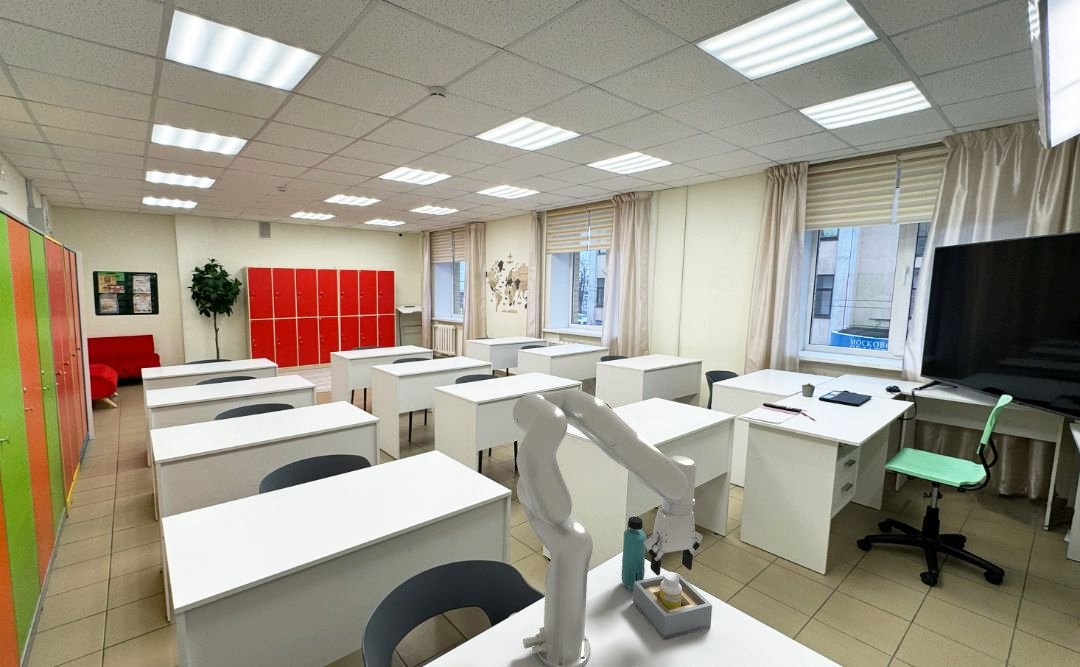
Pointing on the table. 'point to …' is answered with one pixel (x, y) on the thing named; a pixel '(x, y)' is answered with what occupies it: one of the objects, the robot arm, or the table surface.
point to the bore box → (676, 620)
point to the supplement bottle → (670, 591)
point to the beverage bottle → (633, 552)
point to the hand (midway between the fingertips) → (671, 569)
